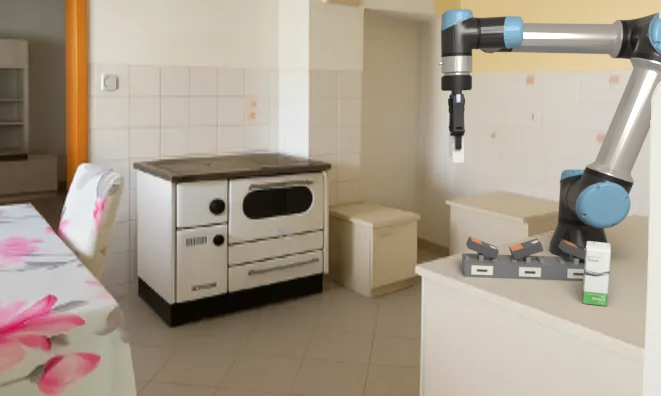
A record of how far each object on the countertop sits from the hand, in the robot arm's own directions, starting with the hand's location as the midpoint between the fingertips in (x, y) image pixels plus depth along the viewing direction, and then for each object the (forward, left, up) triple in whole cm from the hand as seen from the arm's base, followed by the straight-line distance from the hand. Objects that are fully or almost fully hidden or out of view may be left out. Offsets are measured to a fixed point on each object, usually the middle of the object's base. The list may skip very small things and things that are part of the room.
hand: (456, 159), depth 159 cm
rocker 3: (-28, +9, -21) cm, 36 cm away
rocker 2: (-17, +9, -21) cm, 29 cm away
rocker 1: (-6, +9, -21) cm, 24 cm away
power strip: (-17, +9, -26) cm, 33 cm away
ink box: (-28, +27, -27) cm, 47 cm away
